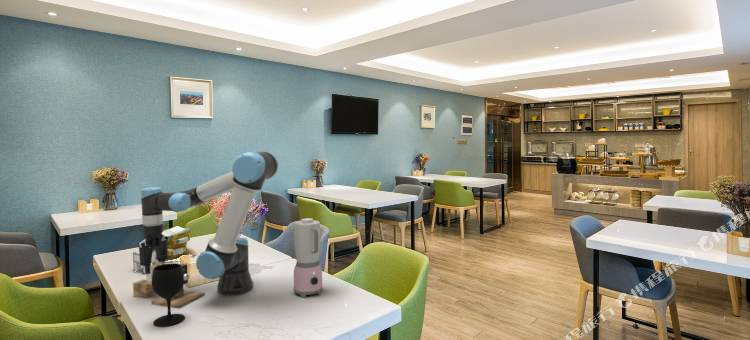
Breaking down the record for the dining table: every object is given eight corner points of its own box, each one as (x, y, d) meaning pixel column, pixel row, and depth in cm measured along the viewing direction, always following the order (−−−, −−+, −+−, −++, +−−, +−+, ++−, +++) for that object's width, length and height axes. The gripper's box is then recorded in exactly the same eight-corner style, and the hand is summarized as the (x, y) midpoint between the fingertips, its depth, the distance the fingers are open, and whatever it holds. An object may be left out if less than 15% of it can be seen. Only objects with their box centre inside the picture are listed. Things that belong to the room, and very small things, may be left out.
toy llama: (145, 267, 210) (143, 229, 208) (166, 271, 202) (165, 233, 200) (130, 271, 203) (129, 232, 202) (152, 276, 195) (150, 236, 194)
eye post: (188, 294, 168) (187, 264, 167) (173, 301, 160) (172, 269, 159) (183, 293, 169) (182, 263, 168) (168, 300, 161) (167, 269, 160)
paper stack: (203, 256, 230) (202, 227, 229) (157, 266, 212) (156, 235, 211) (185, 249, 247) (184, 222, 246) (141, 257, 228) (140, 228, 227)
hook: (192, 285, 165) (191, 268, 164) (184, 288, 160) (183, 271, 160) (155, 280, 170) (155, 264, 170) (146, 284, 166) (146, 267, 166)
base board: (204, 295, 169) (204, 292, 169) (179, 308, 156) (179, 305, 156) (178, 292, 173) (178, 289, 173) (151, 304, 160) (151, 301, 160)
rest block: (156, 293, 171) (155, 280, 171) (146, 298, 166) (145, 284, 166) (143, 292, 173) (143, 279, 173) (133, 296, 168) (132, 283, 168)
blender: (289, 290, 174) (288, 218, 172) (314, 285, 181) (313, 215, 179) (303, 302, 161) (302, 224, 159) (330, 296, 168) (329, 221, 166)
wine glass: (177, 312, 152) (175, 261, 151) (190, 319, 145) (188, 266, 144) (148, 321, 144) (146, 267, 143) (160, 329, 137) (158, 273, 136)
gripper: (162, 220, 176) (164, 271, 177) (127, 228, 159) (129, 285, 160) (176, 221, 173) (178, 273, 175) (141, 229, 157) (144, 286, 158)
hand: (154, 278), depth 168 cm, fingers closed on hook, 4 cm apart
